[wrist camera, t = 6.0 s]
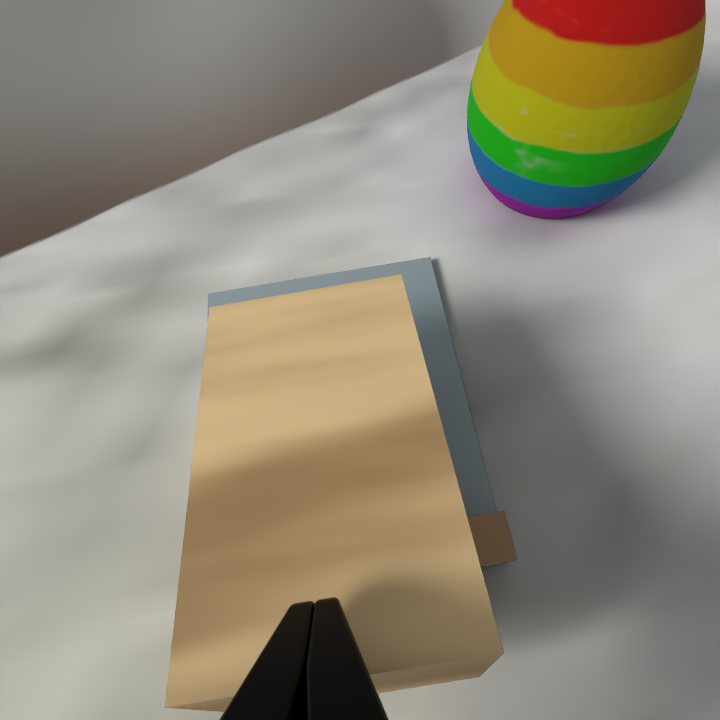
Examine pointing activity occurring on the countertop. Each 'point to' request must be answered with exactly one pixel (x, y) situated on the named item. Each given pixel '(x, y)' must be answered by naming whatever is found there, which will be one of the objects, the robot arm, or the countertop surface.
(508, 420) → the countertop surface
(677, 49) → the decorative egg
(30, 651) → the countertop surface
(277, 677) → the robot arm
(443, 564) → the oak block
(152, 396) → the countertop surface
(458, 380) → the slate mat
